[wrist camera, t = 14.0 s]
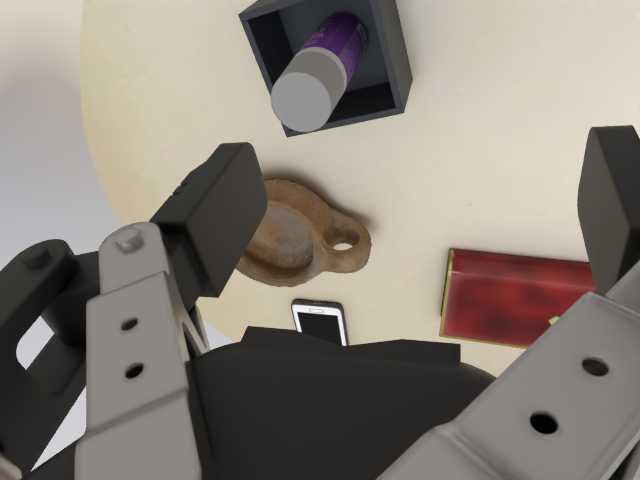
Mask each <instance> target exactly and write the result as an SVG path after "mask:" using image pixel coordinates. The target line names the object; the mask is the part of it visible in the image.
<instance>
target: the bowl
mask: <svg viewBox="0 0 640 480" xmlns="http://www.w3.org/2000/svg"><path fill="white" fill-rule="evenodd" d="M264 184H265V187H266V190H267V195H268V206H267V211H266V214H265V216H264V217H263V219H262V221H261V223H260V225H259V226H258V228H257V230H256V232H255V233H254V235H253V237H252V239H251V241H250V242H249V244H248V246H247V248H246V250H245V251H244V253H243V255H242V257H241V258H240V260H239V262H238V264H237V266H236V267H235V268H236V269H237V270H238V271H240V272H241V273H242V274H244V275H246V276H247V277H249V278H251V279H253V280H256V281H259V282H261V283H264V284H267V285H271V286H277V287H282V286H287V287H294V286H297V285H299V284H303V283H306V282H307V281H309V280H311V279H312V278H314V277H316V276H317V275H318V274H320V273H322V272H324V271H328V272H335V273H352V272H356V271H358V270H360V269H362V268H363V267H364V266H365V265H366V264H367V262H368V259H369V256H370V250H371V245H372V244H371V238H370V235H369V233H368V231H367V229H366V228H365V227H364V226H363V225H362V224H360V223H359V222H357V221H356V220H354V219H353V218H350V217H348V216H345V215H343V214H341V213H340V212H338V211H337V210H335V209H334V208H330V207H328V205H327V203H326V202H325V201H323V200H320V198H319V196H318V195H316V194H314V193H313V191H310V190H308V189H307V188H306V187H305V186H301V185H299V184H298V183H293V182H290V181H289V180H279V179H274V180H270V179H266V180H264ZM340 243H346V244H350V245H352V246H353V247H352V248H349V249H347V250H335V249H333V247H334V246H335V245H337V244H340Z"/></svg>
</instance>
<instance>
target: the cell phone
mask: <svg viewBox="0 0 640 480" xmlns="http://www.w3.org/2000/svg"><path fill="white" fill-rule="evenodd" d="M291 309H292V314H293V318H294V322H295V326H296V330H297V331H299V332H302V333H305V334H308V335H311V336H314V337H317V338H320V339H323V340H326V341H329V342H332V343H335V344H338V345H342V346H348V340H347V333H346V326H345V320H344V313H343V309H342V306H341V305H340V304H337V303H327V302H321V303H318V302H313V301H303V300H294V301H293V302H292V304H291Z"/></svg>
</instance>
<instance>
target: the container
mask: <svg viewBox="0 0 640 480" xmlns="http://www.w3.org/2000/svg"><path fill="white" fill-rule="evenodd" d="M368 39H369V37H368V30H367V27H366V25H365V23H364V22H363V20H362V19H361V18H360V17H359V16H358V15H356V14H354V13H352V12H349V11H338V12H335V13H333V14H331V15H329V16H328V17H327V18H326V19H325V20H324V21H323V23H322V24H321V25H320V26H319V28H318V29H317V30H316V31H315V32H314V34H313V35H312V36H311V37H310V38H309V40H308V41H307V42H306V43H305V44H304V46H303V47H302V48H301V49H300V50H299V52H298V53H297V54H296V55H295V56H294V58H293V59H292V61H291V62H290V63H289V65H288V66H287V68H286V69H285V70H284V72H283V73H282V74H281V76H280V77H279V78H278V80H277V81H276V83H275V84H274V86H273V88H272V91H271V105H272V108H273V111H274V113H275V115H276V116H277V118H278V119H279V120H280V121H281V122H282V123H283V124H284V125H285V126H287V127H289V128H290V129H293V130H295V131H299V132H311V131H314V130H317V129H319V128H320V127H322V126H323V125H324V124H325V123H326V121H327V120H328V118H329V117H330V115H331V113H332V112H333V110H334V108H335V106H336V105H337V103H338V101H339V100H340V98H341V96H342V95H343V93H344V91H345V89H346V87H347V85H348V84H349V82H350V80H351V78H352V76H353V74H354V72H355V70H356V68H357V66H358V64H359V62H360V60H361V58H362V56H363V54H364V52H365V50H366V48H367V45H368Z"/></svg>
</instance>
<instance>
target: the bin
mask: <svg viewBox="0 0 640 480" xmlns="http://www.w3.org/2000/svg"><path fill="white" fill-rule="evenodd" d="M338 11H349V12H352V13H354V14H356V15H358V16H359V17H360V18H361V19H362V20H363V22H364V23H365V25H366V27H367V30H368V37H369V39H368V45H367V48H366V50H365V52H364V54H363V56H362V58H361V60H360V62H359V64H358V66H357V68H356V70H355V72H354V74H353V76H352V78H351V80H350V82H349V84H348V85H347V87H346V89H345V91H344V93H343V95H342V96H341V98H340V100H339V101H338V103H337V105H336V106H335V108H334V110H333V112H332V113H331V115H330V117H329V118H328V120H327V121H326V123H325V124H324V125H323V126H322V127H320V128H319V129H317V130H314V131H311V132H316V131H320V130H325V129H330V128H335V127H339V126H344V125H349V124H354V123H359V122H363V121H368V120H373V119H378V118H382V117H387V116H392V115H397V114H402V113H404V111H405V107H406V103H407V99H408V96H409V92H410V88H411V84H412V81H413V79H412V74H411V70H410V65H409V61H408V56H407V51H406V47H405V42H404V38H403V33H402V29H401V24H400V20H399V15H398V10H397V6H396V1H395V0H258V1H256V2H255V3H254V4H252V5H251V6H249V7H248V8H247V9H245V10H244V11H243V12H241V13H240V14H238V15H239V18H240V20H241V22H242V25H243V28H244V30H245V33H246V35H247V38H248V40H249V43H250V45H251V48H252V50H253V53H254V55H255V58H256V61H257V63H258V66H259V68H260V71H261V73H262V76H263V78H264V81H265V83H266V86H267V88H268V91H269V93H270V96H271V91H272V88H273V86H274V84H275V83H276V81H277V80H278V78H279V77H280V76H281V74H282V73H283V72H284V70H285V69H286V68H287V66H288V65H289V63H290V62H291V61H292V59H293V58H294V56H295V55H296V54H297V53H298V52H299V50H300V49H301V48H302V47H303V46H304V44H305V43H306V42H307V41H308V40H309V38H310V37H311V36H312V35H313V34H314V32H315V31H316V30H317V29H318V28H319V26H320V25H321V24H322V23H323V21H324V20H325V19H326V18H327V17H328V16H329V15H331V14H333V13H335V12H338ZM281 124H282V126H283V129H284V131H285V134H286V136H287V137H292V136H297V135H301V134H306V133H311V132H299V131H295V130H293V129H290V128H289V127H287V126H285V125H284V124H283V123H282V122H281Z"/></svg>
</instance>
